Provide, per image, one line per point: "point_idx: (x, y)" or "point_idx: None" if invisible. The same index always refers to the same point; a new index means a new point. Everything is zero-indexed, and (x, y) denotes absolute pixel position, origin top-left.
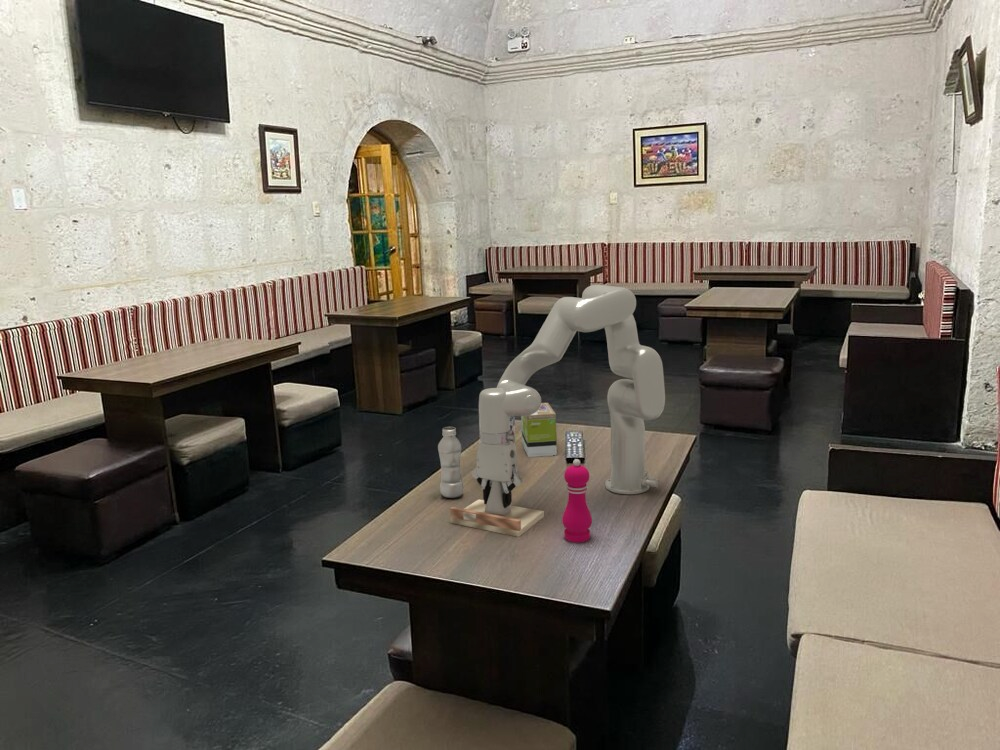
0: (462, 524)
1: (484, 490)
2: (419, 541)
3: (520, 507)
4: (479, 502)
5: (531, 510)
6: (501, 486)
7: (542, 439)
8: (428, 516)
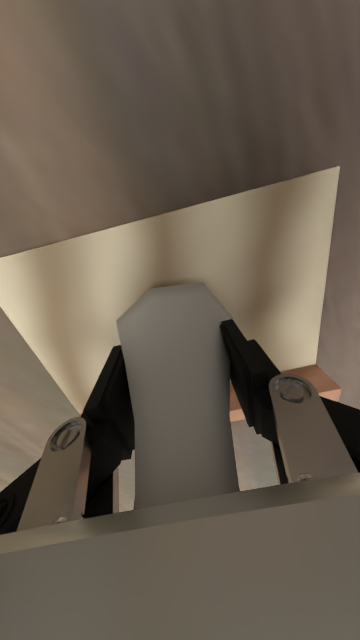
0: None
1: (125, 457)
2: (132, 475)
3: (204, 207)
4: (15, 291)
5: (274, 202)
6: (232, 451)
7: None
8: (11, 416)
